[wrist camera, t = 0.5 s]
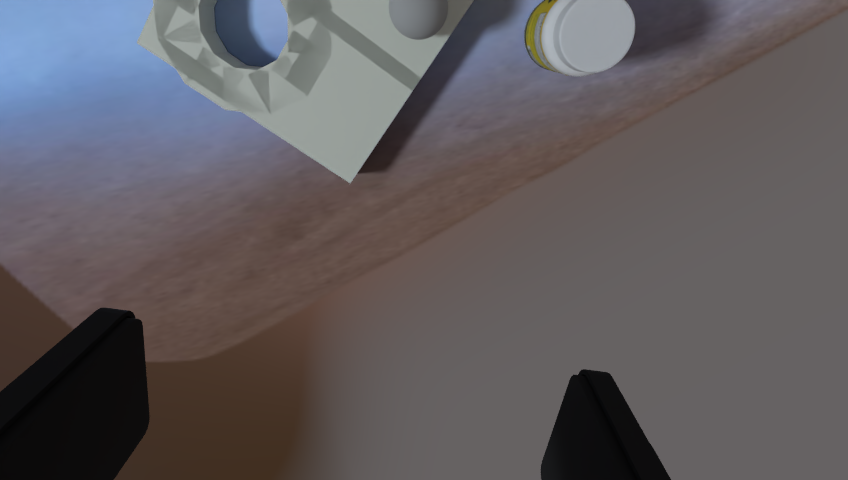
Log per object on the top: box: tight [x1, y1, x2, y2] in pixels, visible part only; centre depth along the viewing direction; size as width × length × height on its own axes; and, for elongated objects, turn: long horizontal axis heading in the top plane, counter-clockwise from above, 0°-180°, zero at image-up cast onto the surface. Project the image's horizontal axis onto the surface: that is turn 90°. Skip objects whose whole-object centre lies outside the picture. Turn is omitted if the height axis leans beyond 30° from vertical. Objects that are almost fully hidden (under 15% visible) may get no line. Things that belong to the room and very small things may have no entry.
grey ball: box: [389, 0, 448, 40], centre depth 29 cm, size 4×4×4 cm
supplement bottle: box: [524, 0, 635, 77], centre depth 29 cm, size 5×5×8 cm
